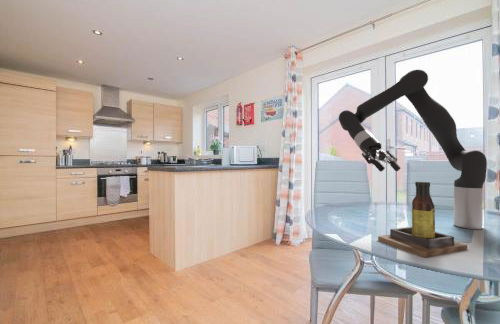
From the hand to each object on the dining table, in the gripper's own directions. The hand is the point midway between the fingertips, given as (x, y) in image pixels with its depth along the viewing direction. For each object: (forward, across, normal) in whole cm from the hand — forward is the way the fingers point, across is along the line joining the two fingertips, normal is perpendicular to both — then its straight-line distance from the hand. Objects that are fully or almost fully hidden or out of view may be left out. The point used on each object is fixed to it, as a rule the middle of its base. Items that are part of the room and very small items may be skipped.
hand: (390, 169), depth 93 cm
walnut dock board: (+27, -2, +8) cm, 28 cm away
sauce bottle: (+26, -2, +7) cm, 27 cm away
